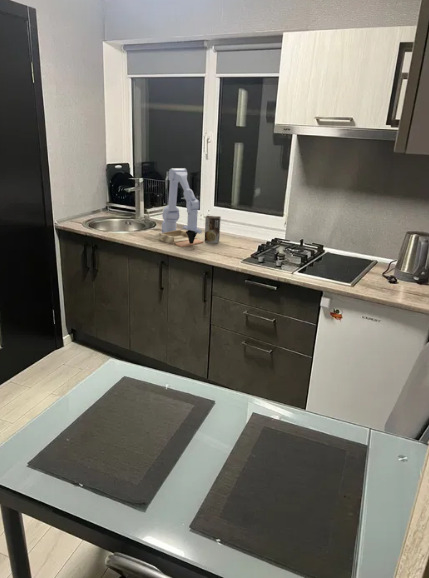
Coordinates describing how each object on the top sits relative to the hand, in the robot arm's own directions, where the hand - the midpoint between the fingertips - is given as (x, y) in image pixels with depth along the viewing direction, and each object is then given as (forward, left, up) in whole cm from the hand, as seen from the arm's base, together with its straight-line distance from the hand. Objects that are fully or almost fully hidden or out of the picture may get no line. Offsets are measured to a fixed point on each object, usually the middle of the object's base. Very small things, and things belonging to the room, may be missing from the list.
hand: (191, 242), depth 259 cm
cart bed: (-13, 0, -2) cm, 13 cm away
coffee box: (+2, +16, -2) cm, 16 cm away
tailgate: (-5, 0, -1) cm, 5 cm away
